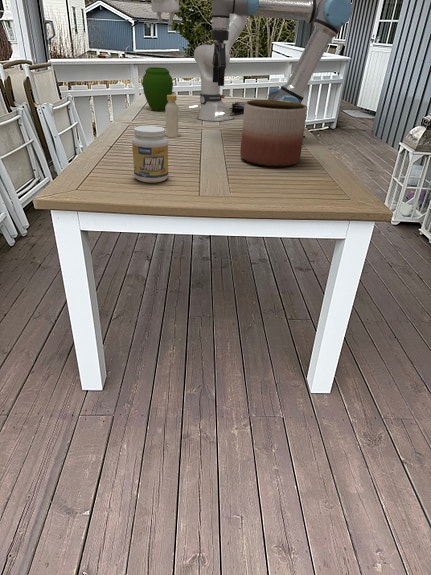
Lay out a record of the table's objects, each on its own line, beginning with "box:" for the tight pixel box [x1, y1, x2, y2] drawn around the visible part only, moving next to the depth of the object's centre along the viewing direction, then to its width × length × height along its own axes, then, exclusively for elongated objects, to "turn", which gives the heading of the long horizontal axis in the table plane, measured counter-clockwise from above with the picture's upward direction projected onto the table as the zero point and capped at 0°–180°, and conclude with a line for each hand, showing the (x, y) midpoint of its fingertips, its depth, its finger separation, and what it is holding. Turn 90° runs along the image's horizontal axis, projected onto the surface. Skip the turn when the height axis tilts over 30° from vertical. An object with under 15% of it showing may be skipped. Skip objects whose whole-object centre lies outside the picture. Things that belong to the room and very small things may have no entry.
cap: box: [167, 94, 177, 102], centre depth 197 cm, size 4×4×2 cm
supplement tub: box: [131, 125, 169, 183], centre depth 142 cm, size 12×12×17 cm
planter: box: [240, 99, 308, 168], centre depth 169 cm, size 25×25×22 cm
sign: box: [231, 101, 246, 114], centre depth 284 cm, size 19×3×30 cm
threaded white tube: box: [164, 101, 179, 138], centre depth 202 cm, size 6×6×18 cm
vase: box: [141, 66, 174, 112], centre depth 261 cm, size 20×20×24 cm
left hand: (165, 23), depth 208 cm, fingers open, 8 cm apart
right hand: (218, 84), depth 188 cm, fingers open, 13 cm apart
